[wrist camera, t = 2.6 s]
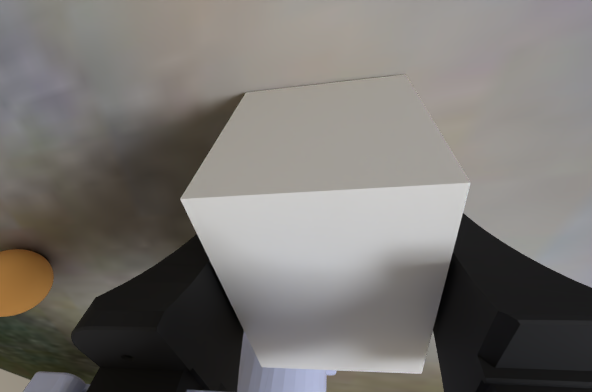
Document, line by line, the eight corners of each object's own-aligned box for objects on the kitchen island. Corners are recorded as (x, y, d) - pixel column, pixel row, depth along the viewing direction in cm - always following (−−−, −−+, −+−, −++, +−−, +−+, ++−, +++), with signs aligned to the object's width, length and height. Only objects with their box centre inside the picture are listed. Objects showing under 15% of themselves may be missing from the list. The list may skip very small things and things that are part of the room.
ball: (79, 274, 21) (36, 330, 18) (31, 275, 22) (-19, 329, 19) (42, 234, 19) (-15, 290, 16) (-11, 236, 19) (-76, 291, 16)
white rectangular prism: (393, 240, 16) (421, 373, 11) (283, 243, 17) (261, 367, 12) (406, 73, 11) (470, 182, 6) (245, 92, 12) (180, 199, 7)
